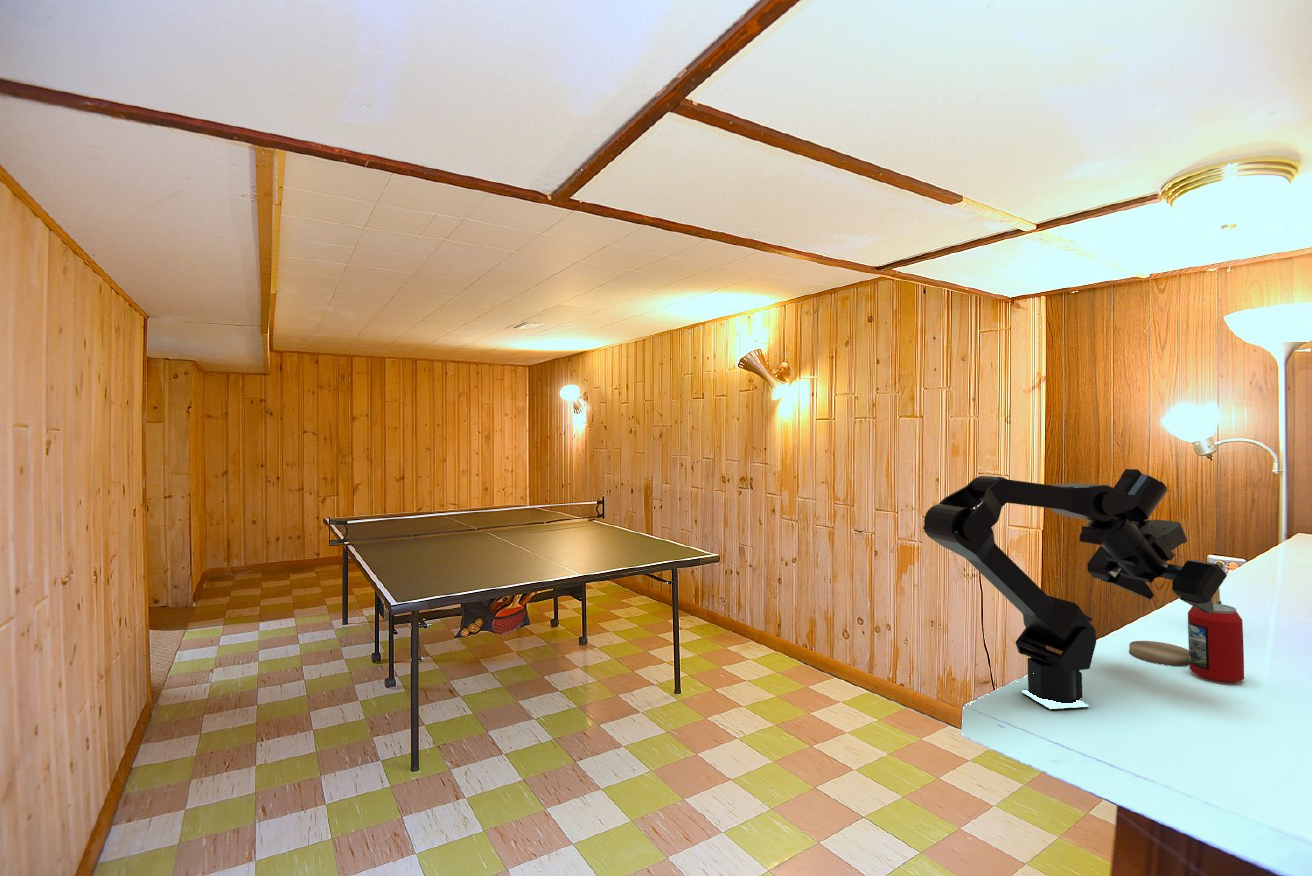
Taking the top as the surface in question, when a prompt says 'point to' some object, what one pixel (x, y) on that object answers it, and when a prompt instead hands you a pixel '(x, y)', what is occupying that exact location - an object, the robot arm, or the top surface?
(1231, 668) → the beverage can
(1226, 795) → the top surface
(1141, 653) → the coaster
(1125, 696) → the top surface
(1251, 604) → the top surface
